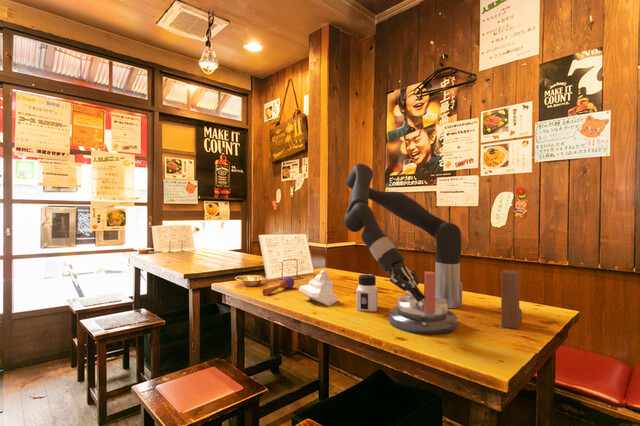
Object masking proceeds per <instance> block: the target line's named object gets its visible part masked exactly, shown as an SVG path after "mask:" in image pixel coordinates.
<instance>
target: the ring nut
mask: <svg viewBox="0 0 640 426" xmlns="http://www.w3.org/2000/svg"><path fill="white" fill-rule="evenodd" d="M423 278H424V279H423V295H424V297H425V298H424V299H423V300H421V301H419V302H418V301H417V300H416V299H415V298H414V296H413V295H412V294H411V292H405V296H404V295H398V297H397V306H398V313H399V314H400V315H401V316H403V317H406V318H409V319H414V320H421V321H437V320H442V319H445V318H446V317H447V310H448V308H447V302H446V298H435V272H434V271H424V273H423Z"/></svg>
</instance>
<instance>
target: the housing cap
mask: <svg viewBox="0 0 640 426" xmlns="http://www.w3.org/2000/svg"><path fill="white" fill-rule="evenodd" d="M388 323H389V324H390V325H391V326H392V327H393V328H395V329H398V330H400V331H403V332H406V333H411V334H416V335H425V336H437V335H438V336H439V335H447V334H452V333H454V332H455V331H456V330H457V329H458V317H457V314H455V313H454V312H452V311H450V310H448V309H447V317H446V318H445V319H442V320H437V321H421V320H414V319H409V318H406V317H403V316H401V315H400V314H399V313H398V305H397V306H393V307H392V308H390V309H389V310H388Z"/></svg>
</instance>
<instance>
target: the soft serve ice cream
mask: <svg viewBox="0 0 640 426" xmlns="http://www.w3.org/2000/svg"><path fill="white" fill-rule="evenodd" d="M333 287H334V282H333V281H332V280H331V278H330V276H329V274H328V272H327V271H326V269H322V270H321V271H319V273H318V274H317V275H315V278H311V279H310V280H309V281H308V284H305V285H304V284H303V285H300V286H299V288H298V291H299V292H301V294H304V295H305V296H306V297H308V298H309V299H311V300H314V301H315V302H317V303H320V304H322V305H325V306H331V305H333V304H335V303H336V302H338V299H339V297H338V296H337V295H336V294H335V292H333V291H334V290H333Z"/></svg>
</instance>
